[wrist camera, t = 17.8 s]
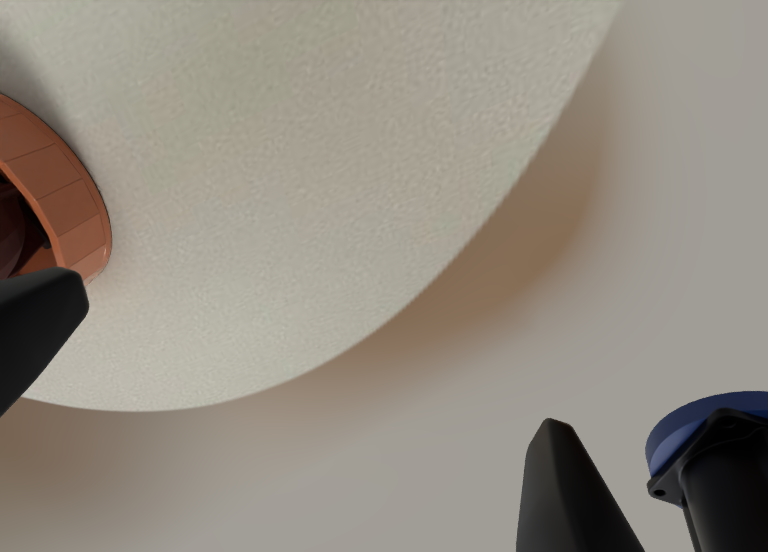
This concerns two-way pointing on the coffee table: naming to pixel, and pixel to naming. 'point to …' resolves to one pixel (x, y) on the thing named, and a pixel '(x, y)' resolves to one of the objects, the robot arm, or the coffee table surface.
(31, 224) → the mate gourd
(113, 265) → the coffee table surface
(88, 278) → the holder
